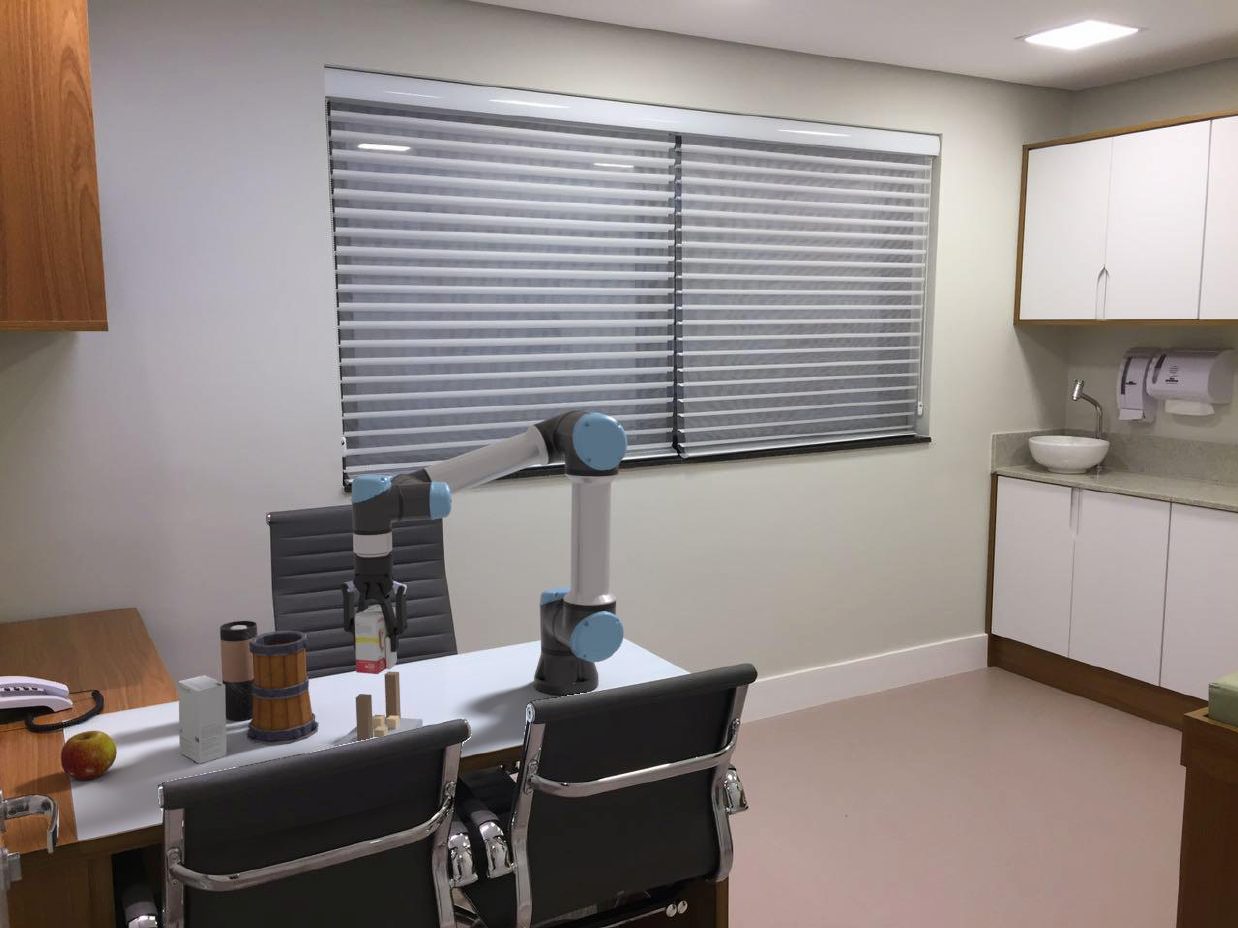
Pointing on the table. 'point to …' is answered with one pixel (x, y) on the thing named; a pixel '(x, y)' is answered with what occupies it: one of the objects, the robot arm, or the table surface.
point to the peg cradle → (379, 723)
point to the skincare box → (202, 718)
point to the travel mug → (238, 668)
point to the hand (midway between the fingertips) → (377, 666)
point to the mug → (280, 689)
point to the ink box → (371, 640)
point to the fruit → (88, 755)
